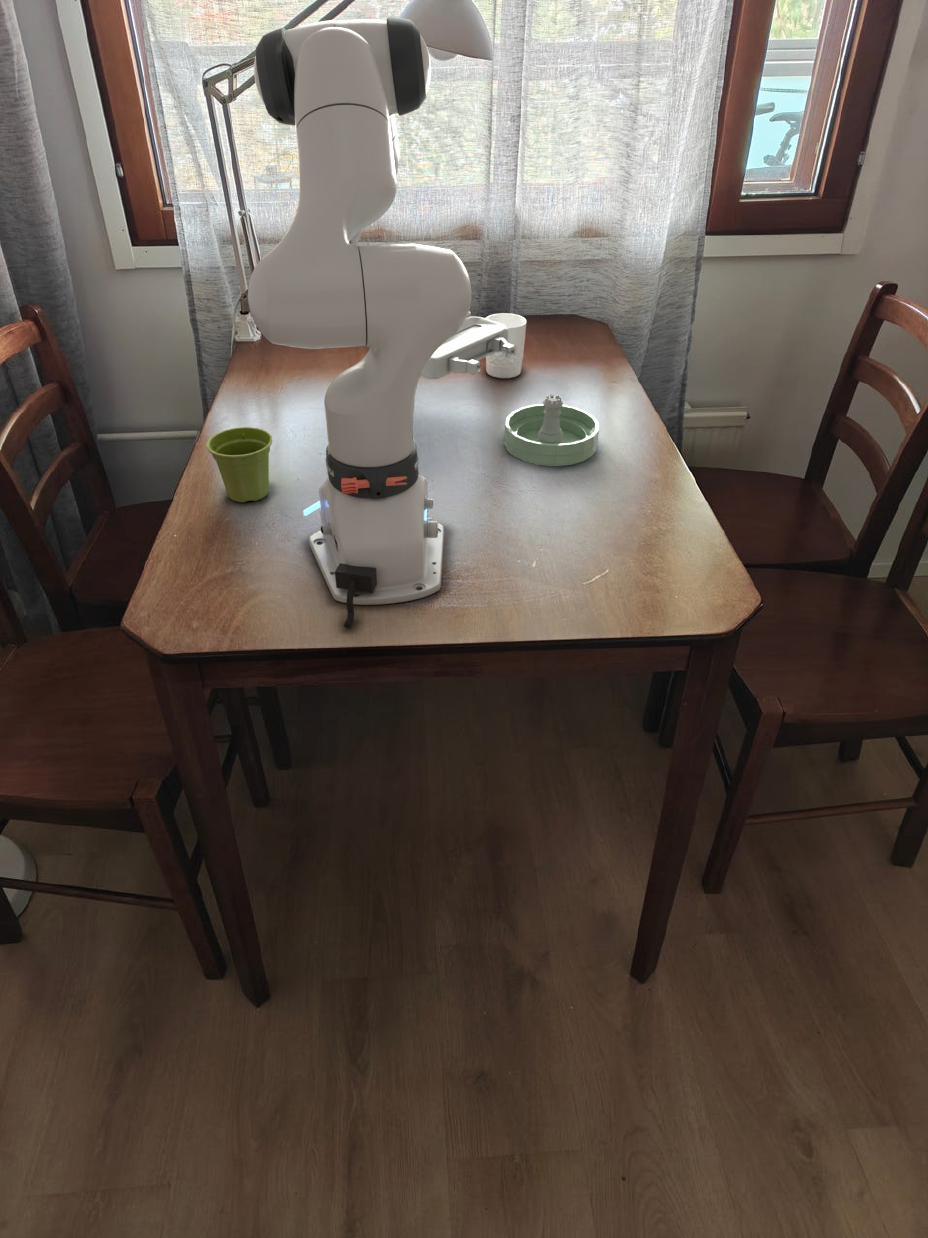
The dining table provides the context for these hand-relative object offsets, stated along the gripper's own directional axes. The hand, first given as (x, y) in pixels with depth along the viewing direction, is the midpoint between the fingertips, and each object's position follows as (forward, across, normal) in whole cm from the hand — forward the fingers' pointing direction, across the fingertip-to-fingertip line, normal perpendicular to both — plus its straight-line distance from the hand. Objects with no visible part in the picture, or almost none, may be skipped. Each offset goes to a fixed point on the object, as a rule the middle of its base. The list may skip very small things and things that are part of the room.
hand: (496, 360), depth 143 cm
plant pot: (-14, -42, +12) cm, 46 cm away
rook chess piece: (+12, 0, +11) cm, 16 cm away
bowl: (+12, 0, +12) cm, 17 cm away
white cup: (-13, +20, +12) cm, 27 cm away
